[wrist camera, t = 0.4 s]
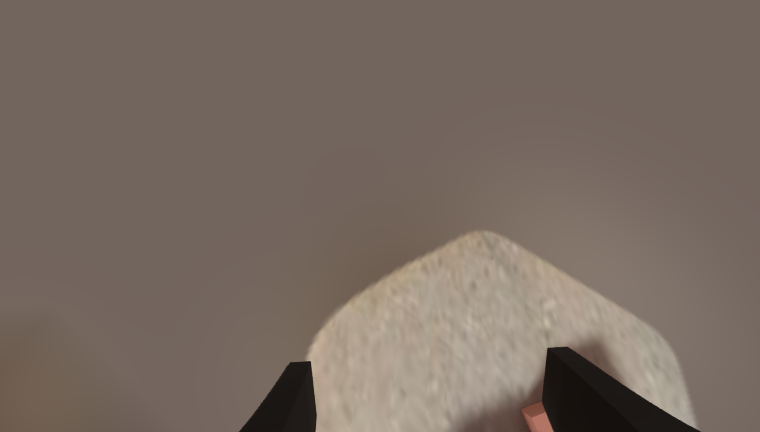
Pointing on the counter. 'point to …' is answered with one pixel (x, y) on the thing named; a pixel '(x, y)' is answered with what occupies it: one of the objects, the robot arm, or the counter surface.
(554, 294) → the counter surface
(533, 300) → the counter surface
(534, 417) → the red block
